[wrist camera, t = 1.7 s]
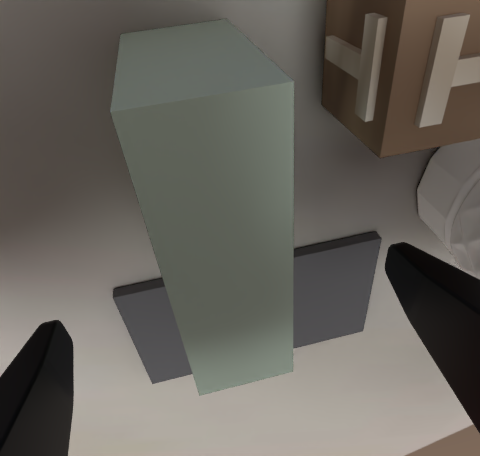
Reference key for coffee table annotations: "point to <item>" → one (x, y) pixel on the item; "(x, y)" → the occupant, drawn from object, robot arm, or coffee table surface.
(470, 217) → the white cup
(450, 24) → the letter block
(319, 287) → the dark gray panel
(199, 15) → the coffee table surface
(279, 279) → the sage rectangular block
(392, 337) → the coffee table surface
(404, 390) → the coffee table surface
